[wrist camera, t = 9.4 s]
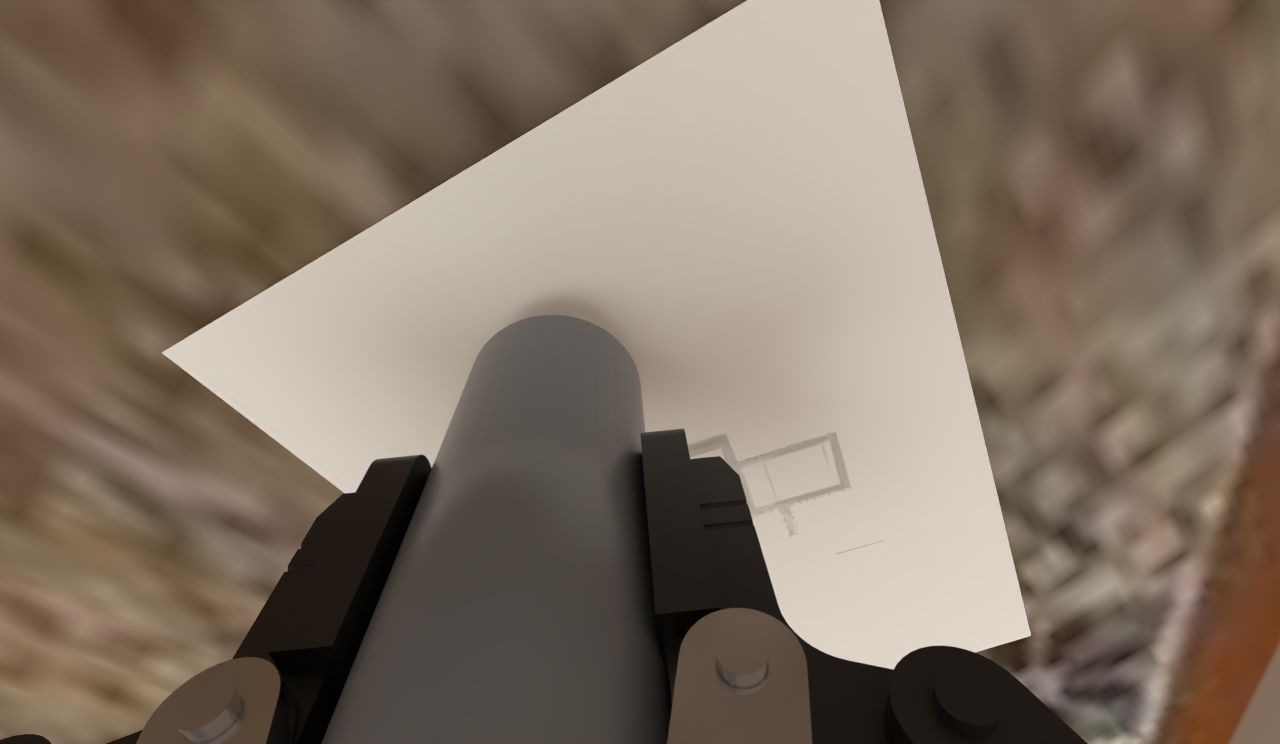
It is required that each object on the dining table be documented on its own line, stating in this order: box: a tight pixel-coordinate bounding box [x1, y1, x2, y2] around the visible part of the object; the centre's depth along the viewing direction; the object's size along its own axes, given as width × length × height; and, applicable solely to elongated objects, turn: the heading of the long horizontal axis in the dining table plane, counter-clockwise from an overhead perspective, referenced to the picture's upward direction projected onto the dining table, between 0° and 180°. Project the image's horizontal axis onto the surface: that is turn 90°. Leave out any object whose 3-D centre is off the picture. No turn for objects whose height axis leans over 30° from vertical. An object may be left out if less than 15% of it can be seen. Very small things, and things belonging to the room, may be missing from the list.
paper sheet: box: [162, 0, 1031, 670], centre depth 18 cm, size 24×29×1 cm
